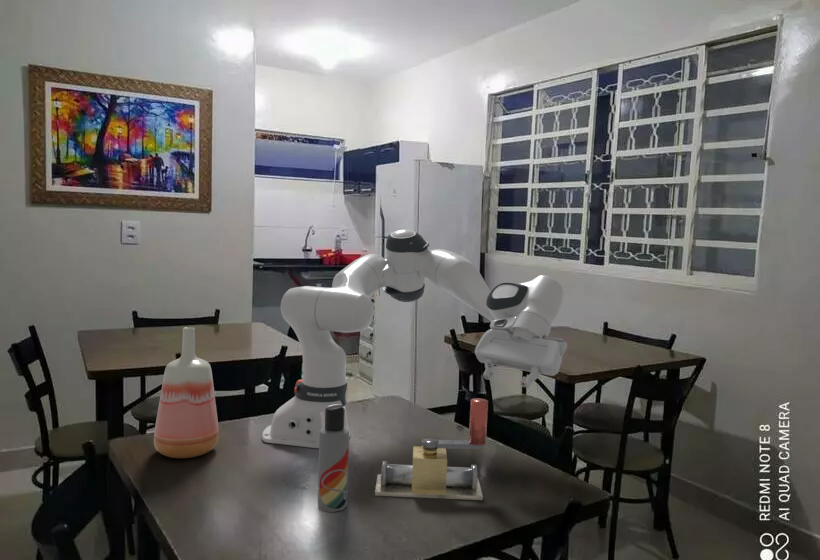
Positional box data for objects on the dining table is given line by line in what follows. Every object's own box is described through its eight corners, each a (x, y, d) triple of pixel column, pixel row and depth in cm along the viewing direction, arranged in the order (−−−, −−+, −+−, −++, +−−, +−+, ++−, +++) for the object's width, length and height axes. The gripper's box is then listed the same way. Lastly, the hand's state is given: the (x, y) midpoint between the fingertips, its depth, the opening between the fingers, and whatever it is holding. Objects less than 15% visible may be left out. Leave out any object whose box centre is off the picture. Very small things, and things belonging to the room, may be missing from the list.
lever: (422, 449, 125) (424, 401, 124) (420, 443, 129) (422, 397, 128) (487, 450, 126) (489, 403, 125) (483, 444, 130) (486, 398, 129)
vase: (214, 438, 153) (215, 322, 150) (222, 458, 140) (224, 332, 137) (152, 445, 146) (153, 324, 144) (155, 467, 133) (156, 334, 131)
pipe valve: (374, 495, 123) (376, 453, 123) (377, 477, 132) (379, 438, 132) (482, 500, 123) (484, 458, 123) (478, 482, 132) (479, 442, 131)
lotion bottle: (341, 514, 115) (344, 411, 113) (313, 510, 116) (316, 408, 114) (350, 501, 120) (353, 403, 119) (323, 498, 121) (326, 400, 120)
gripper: (573, 348, 136) (552, 399, 130) (494, 336, 149) (471, 381, 142) (566, 330, 133) (544, 382, 126) (486, 319, 145) (461, 366, 138)
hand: (505, 381), depth 134 cm, fingers open, 8 cm apart
